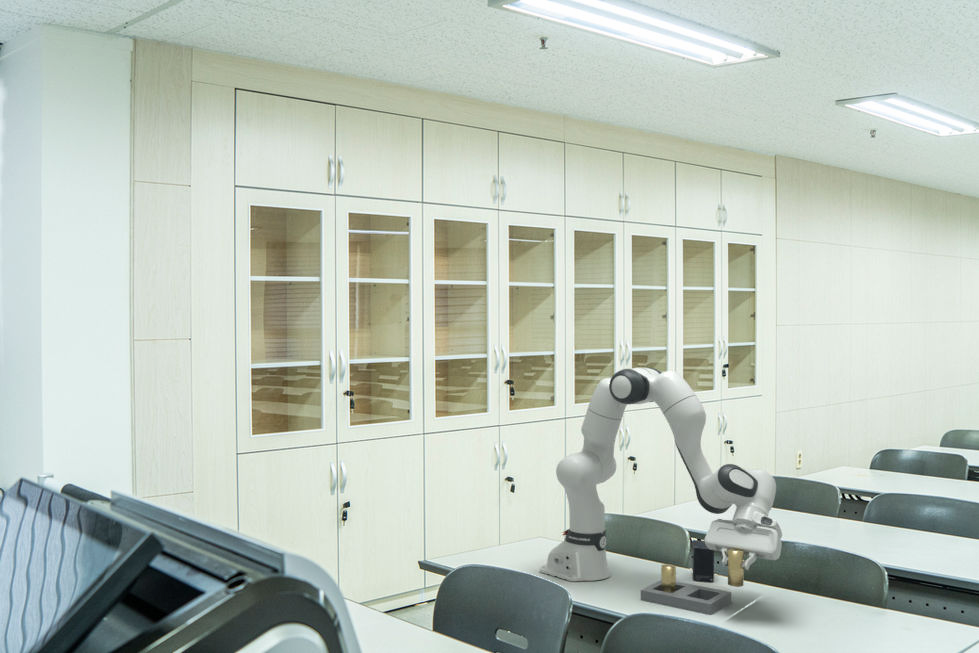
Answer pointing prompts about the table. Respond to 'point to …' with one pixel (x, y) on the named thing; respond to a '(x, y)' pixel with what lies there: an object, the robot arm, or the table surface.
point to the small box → (702, 562)
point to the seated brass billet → (668, 578)
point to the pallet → (688, 597)
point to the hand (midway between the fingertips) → (734, 566)
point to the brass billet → (735, 567)
